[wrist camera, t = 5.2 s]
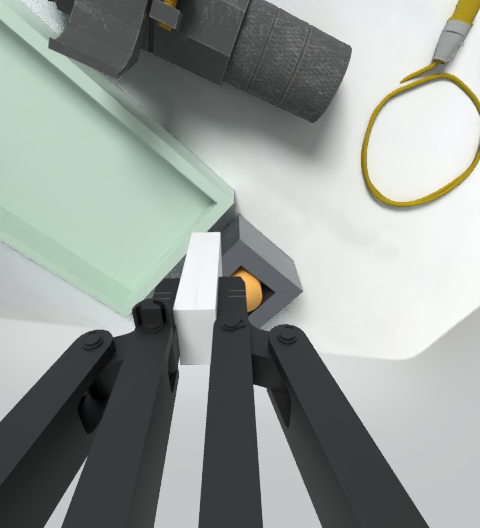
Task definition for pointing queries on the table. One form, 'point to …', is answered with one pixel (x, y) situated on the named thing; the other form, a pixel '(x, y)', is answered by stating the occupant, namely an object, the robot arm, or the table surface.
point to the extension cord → (444, 52)
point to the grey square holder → (260, 267)
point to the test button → (250, 288)
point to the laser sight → (212, 46)
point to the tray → (92, 172)
